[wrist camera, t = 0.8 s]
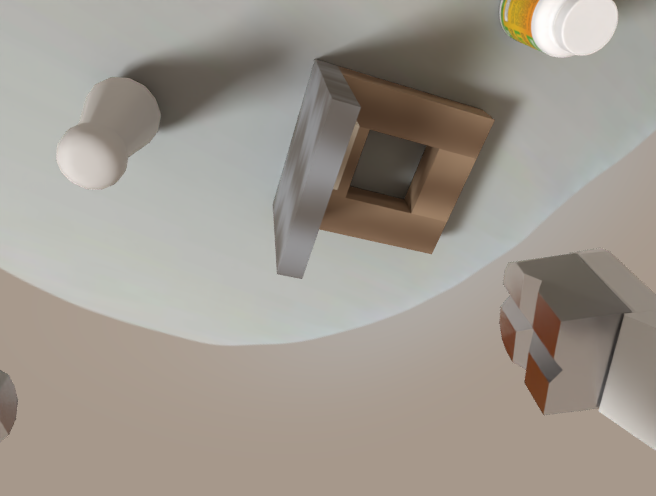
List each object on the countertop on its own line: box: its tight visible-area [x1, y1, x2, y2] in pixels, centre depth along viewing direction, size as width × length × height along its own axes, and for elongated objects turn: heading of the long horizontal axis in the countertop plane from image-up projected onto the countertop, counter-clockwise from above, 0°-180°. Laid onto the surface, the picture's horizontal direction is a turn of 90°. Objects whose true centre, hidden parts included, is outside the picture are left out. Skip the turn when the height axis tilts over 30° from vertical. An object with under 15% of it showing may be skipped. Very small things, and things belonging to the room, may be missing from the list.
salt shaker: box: [56, 77, 161, 189], centre depth 40 cm, size 6×6×13 cm
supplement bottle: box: [499, 0, 618, 58], centre depth 41 cm, size 5×5×10 cm
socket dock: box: [273, 59, 495, 279], centre depth 45 cm, size 14×16×12 cm
